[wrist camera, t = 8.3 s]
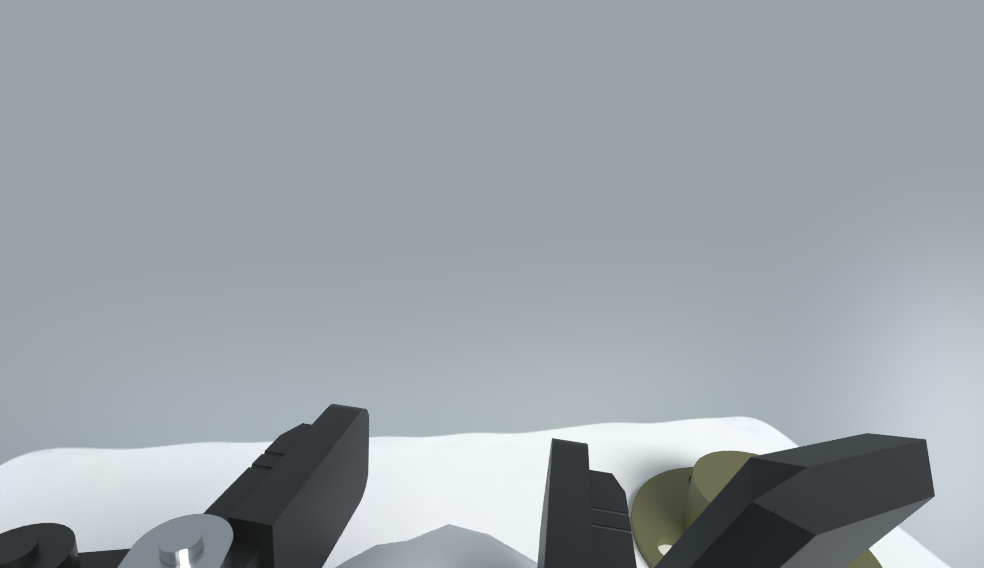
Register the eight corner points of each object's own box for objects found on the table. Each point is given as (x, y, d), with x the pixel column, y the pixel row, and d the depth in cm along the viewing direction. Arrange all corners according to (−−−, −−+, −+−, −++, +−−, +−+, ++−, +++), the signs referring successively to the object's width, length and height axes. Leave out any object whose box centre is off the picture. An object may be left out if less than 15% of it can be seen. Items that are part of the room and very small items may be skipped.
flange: (736, 614, 24) (990, 576, 27) (604, 430, 38) (781, 420, 41) (716, 689, 25) (960, 645, 28) (595, 485, 39) (768, 470, 42)
